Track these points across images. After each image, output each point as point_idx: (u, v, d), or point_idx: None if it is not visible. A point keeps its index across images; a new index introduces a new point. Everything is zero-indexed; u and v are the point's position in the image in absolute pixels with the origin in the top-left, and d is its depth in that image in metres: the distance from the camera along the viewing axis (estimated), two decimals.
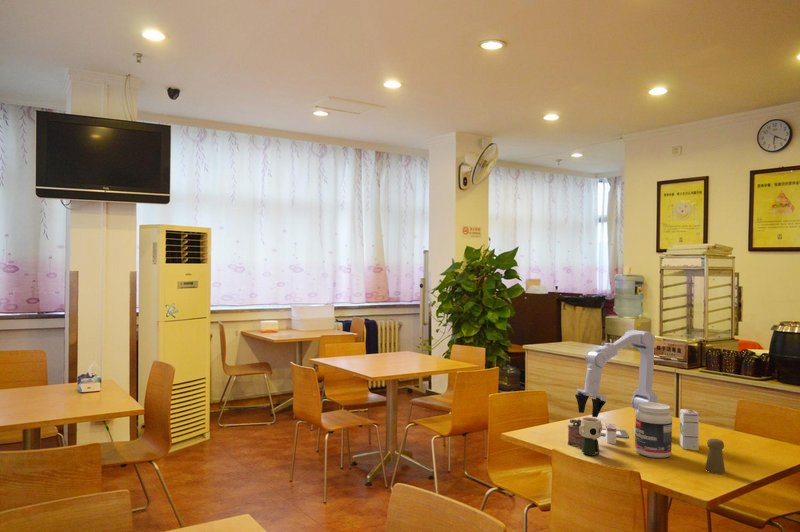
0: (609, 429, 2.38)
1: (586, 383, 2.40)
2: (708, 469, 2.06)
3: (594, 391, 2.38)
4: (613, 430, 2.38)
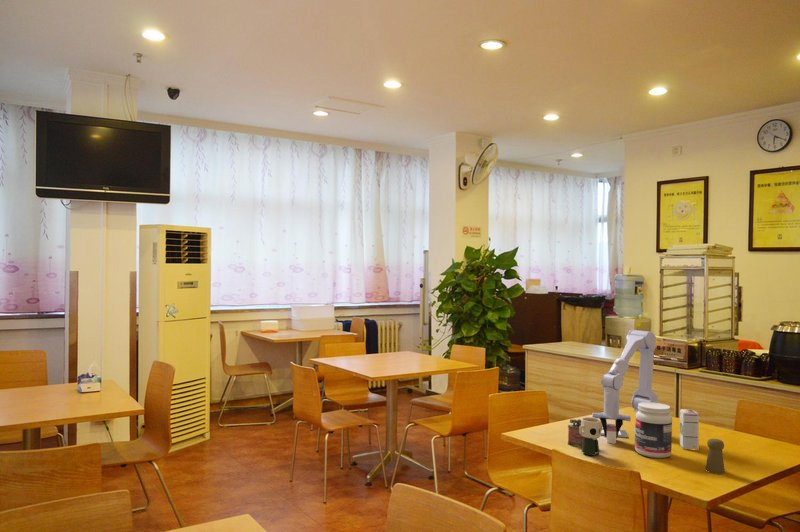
0: (609, 429, 2.38)
1: (610, 408, 2.39)
2: (708, 469, 2.06)
3: (618, 414, 2.40)
4: (613, 430, 2.38)
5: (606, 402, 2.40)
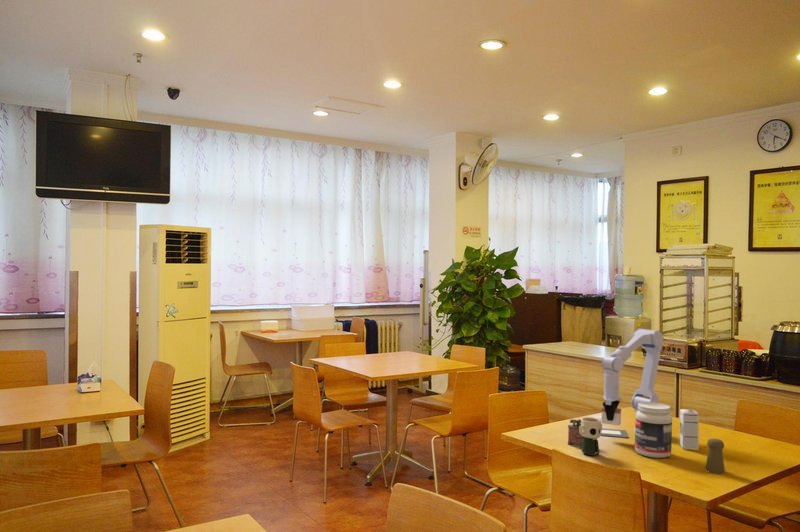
0: (620, 411, 2.40)
1: (618, 389, 2.41)
2: (708, 469, 2.06)
3: None
4: (620, 411, 2.42)
5: (606, 384, 2.42)
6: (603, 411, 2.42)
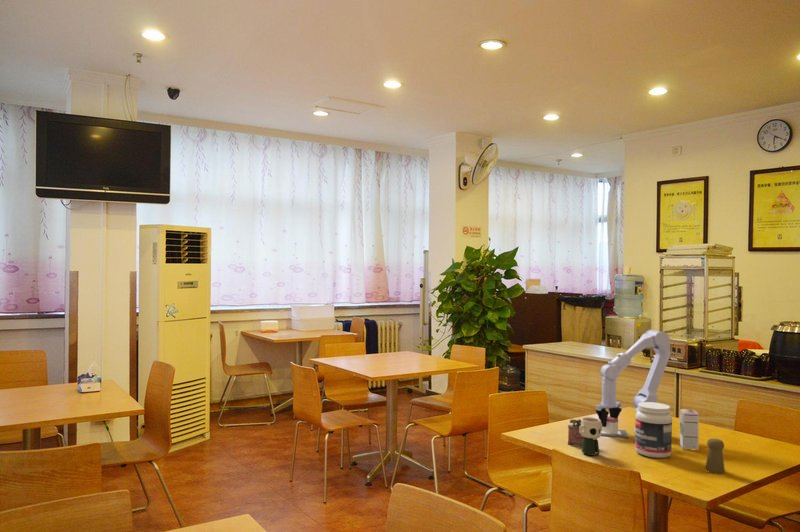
0: (614, 421, 2.49)
1: (613, 397, 2.50)
2: (708, 469, 2.06)
3: None
4: (616, 421, 2.50)
5: (602, 391, 2.53)
6: None
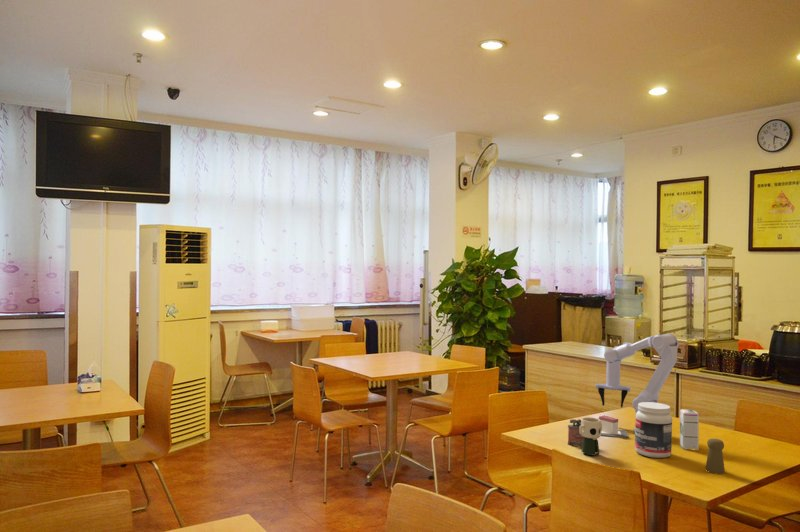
0: (614, 421, 2.49)
1: (611, 379, 2.64)
2: (708, 469, 2.06)
3: (619, 384, 2.64)
4: (616, 421, 2.50)
5: None
6: (600, 419, 2.54)
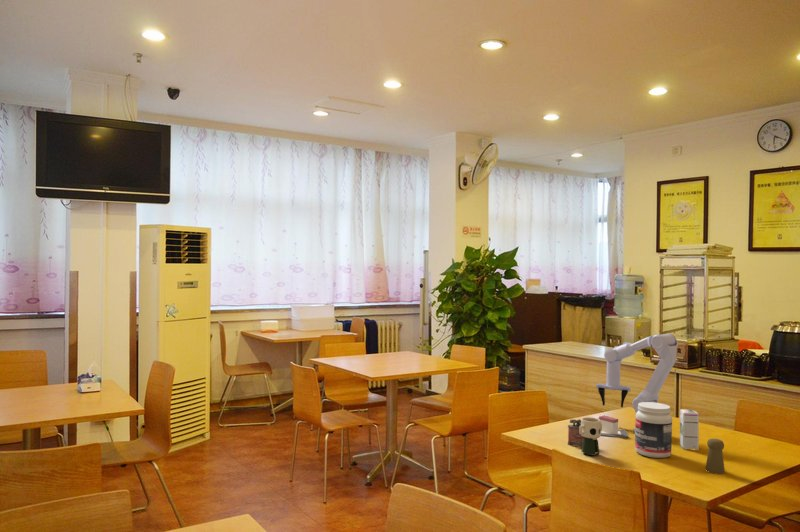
0: (614, 421, 2.49)
1: (611, 379, 2.64)
2: (708, 469, 2.06)
3: (619, 384, 2.65)
4: (616, 421, 2.50)
5: None
6: (600, 419, 2.54)
